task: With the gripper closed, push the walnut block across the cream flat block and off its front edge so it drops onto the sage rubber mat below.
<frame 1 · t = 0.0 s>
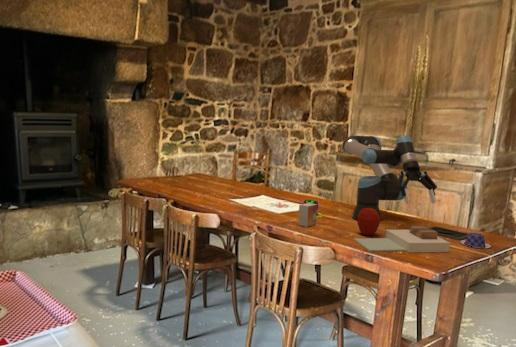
hand: (420, 202, 190), 15 cm above the table, tool tilted 35°, fingers open, 13 cm apart
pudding: (475, 246, 177), on the table
mat: (379, 245, 171), on the table
walnut block: (422, 235, 173), point 4 cm above the table, touching cream flat block
cream flat block: (415, 244, 173), on the table
picture frame: (447, 235, 193), on the table
toy cauldron: (310, 215, 223), on the table
dark red rounded piece: (367, 235, 187), on the table
small box: (307, 225, 200), on the table
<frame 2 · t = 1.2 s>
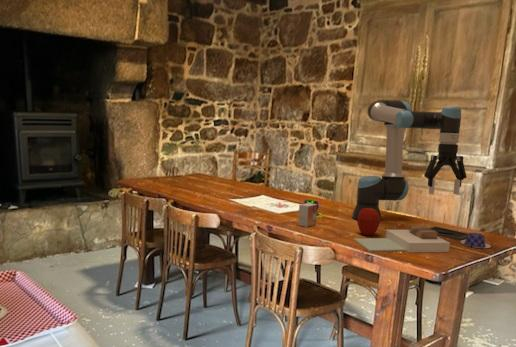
hand: (443, 194, 172), 22 cm above the table, tool pointing down, fingers open, 11 cm apart
nothing on the table moved.
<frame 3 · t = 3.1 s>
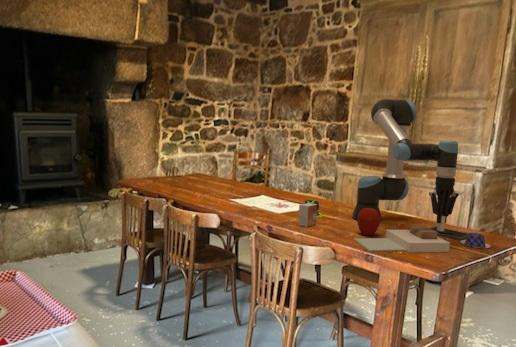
hand: (440, 230, 174), 6 cm above the table, tool pointing down, fingers closed
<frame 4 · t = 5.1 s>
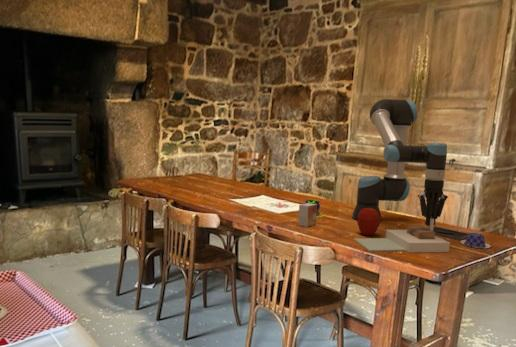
hand: (429, 232, 174), 5 cm above the table, tool pointing down, fingers closed
walnut block: (420, 235, 173), point 4 cm above the table, touching gripper
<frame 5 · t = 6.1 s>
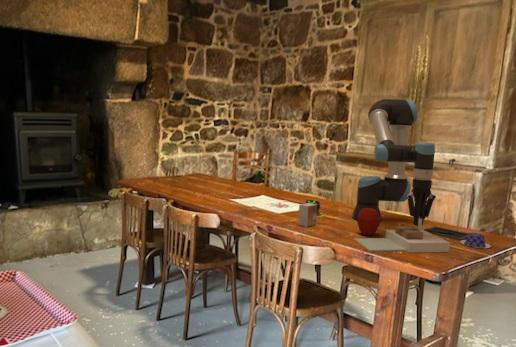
hand: (417, 232, 173), 5 cm above the table, tool pointing down, fingers closed
walnut block: (408, 236, 172), point 4 cm above the table, touching gripper
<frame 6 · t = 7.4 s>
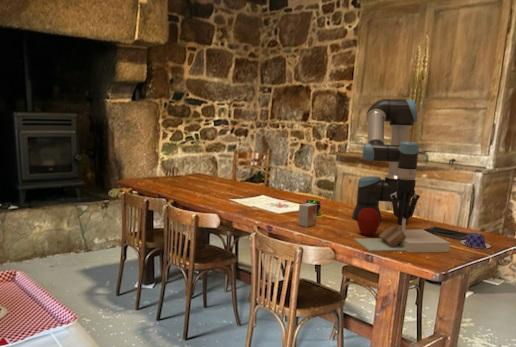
hand: (401, 232, 171), 5 cm above the table, tool pointing down, fingers closed
walnut block: (394, 238, 171), point 3 cm above the table, tilted 39°, touching gripper
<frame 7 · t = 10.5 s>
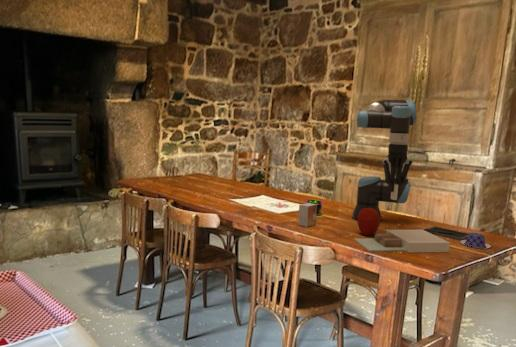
hand: (393, 199, 169), 20 cm above the table, tool pointing down, fingers closed
walnut block: (387, 243, 171), point 1 cm above the table, touching mat
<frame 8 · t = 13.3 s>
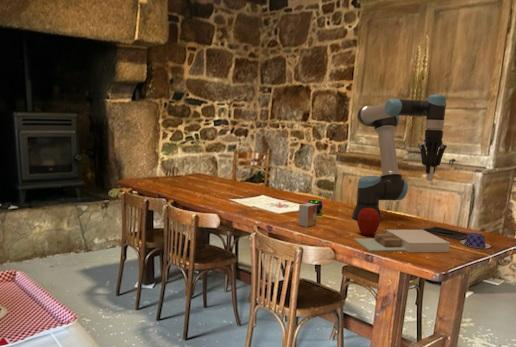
hand: (429, 180, 185), 26 cm above the table, tool pointing down, fingers closed
at the end: walnut block inside the target area (3.8 cm from its centre), point 0.6 cm above the table; walnut block touching mat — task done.
